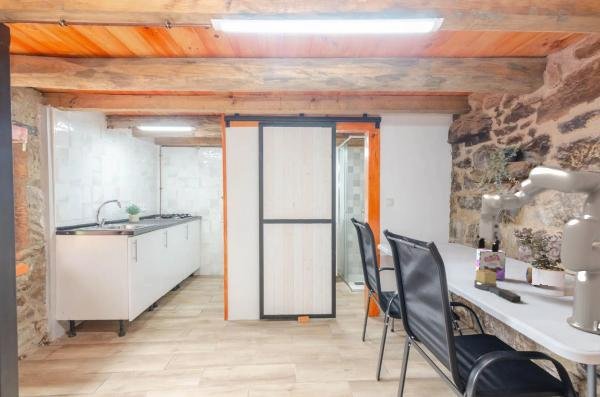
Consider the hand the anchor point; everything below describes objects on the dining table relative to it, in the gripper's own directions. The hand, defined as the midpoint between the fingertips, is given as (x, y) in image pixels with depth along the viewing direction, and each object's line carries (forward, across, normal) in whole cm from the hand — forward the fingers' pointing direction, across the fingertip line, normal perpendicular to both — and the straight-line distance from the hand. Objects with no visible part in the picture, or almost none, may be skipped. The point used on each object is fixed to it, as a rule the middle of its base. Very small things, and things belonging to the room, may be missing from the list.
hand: (488, 250), depth 158 cm
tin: (+21, +5, -33) cm, 39 cm away
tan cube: (+17, 0, 0) cm, 17 cm away
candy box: (+20, +17, -16) cm, 31 cm away
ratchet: (+20, -7, +1) cm, 22 cm away
